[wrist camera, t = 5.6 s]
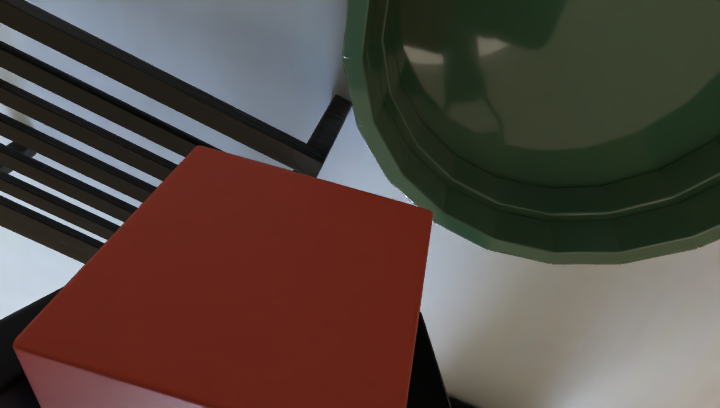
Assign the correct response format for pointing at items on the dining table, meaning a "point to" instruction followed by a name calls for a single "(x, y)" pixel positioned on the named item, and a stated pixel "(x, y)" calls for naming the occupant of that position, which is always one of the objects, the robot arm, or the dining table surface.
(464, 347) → the dining table surface
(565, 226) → the bowl
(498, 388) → the dining table surface
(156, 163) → the rack
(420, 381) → the robot arm
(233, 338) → the block
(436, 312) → the dining table surface
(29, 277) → the dining table surface
